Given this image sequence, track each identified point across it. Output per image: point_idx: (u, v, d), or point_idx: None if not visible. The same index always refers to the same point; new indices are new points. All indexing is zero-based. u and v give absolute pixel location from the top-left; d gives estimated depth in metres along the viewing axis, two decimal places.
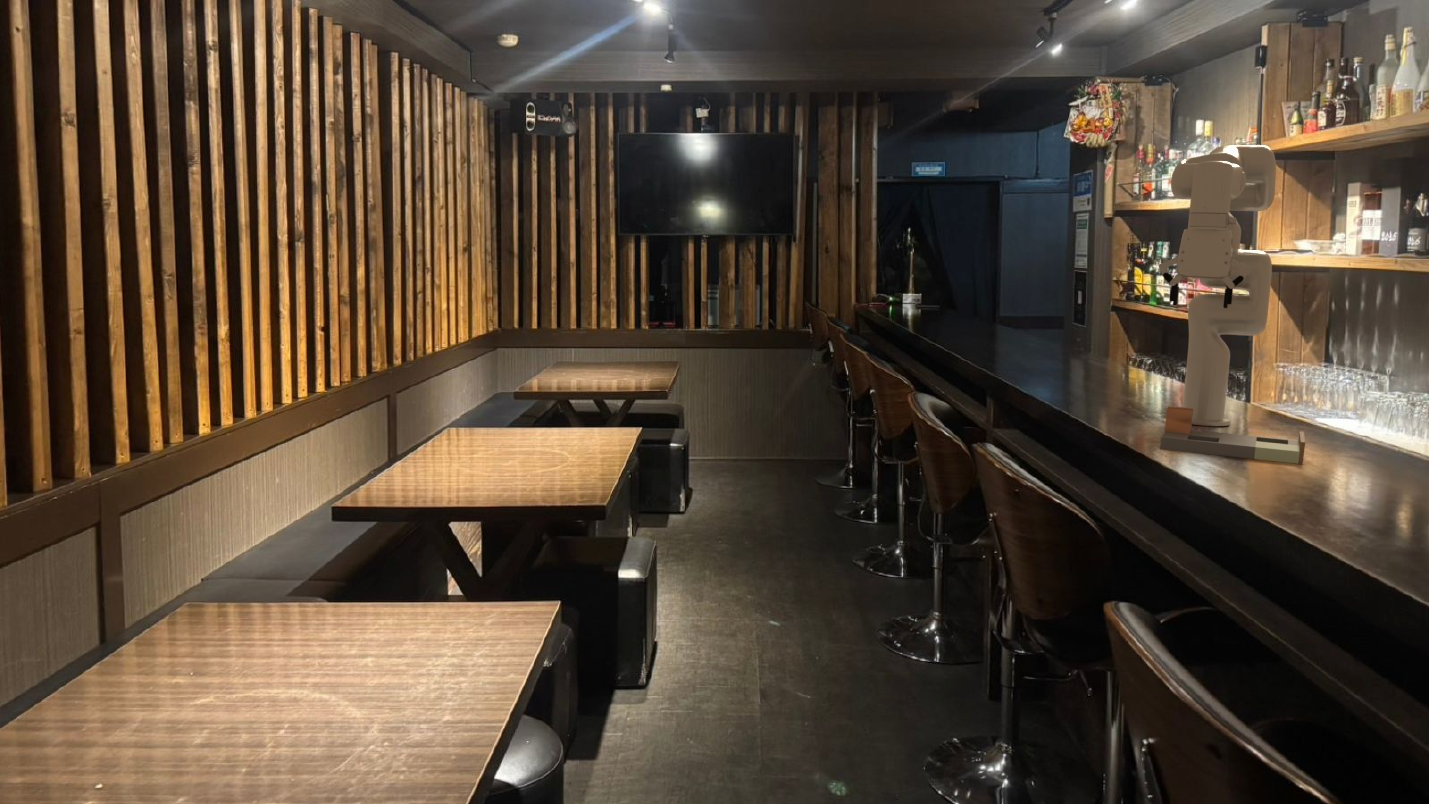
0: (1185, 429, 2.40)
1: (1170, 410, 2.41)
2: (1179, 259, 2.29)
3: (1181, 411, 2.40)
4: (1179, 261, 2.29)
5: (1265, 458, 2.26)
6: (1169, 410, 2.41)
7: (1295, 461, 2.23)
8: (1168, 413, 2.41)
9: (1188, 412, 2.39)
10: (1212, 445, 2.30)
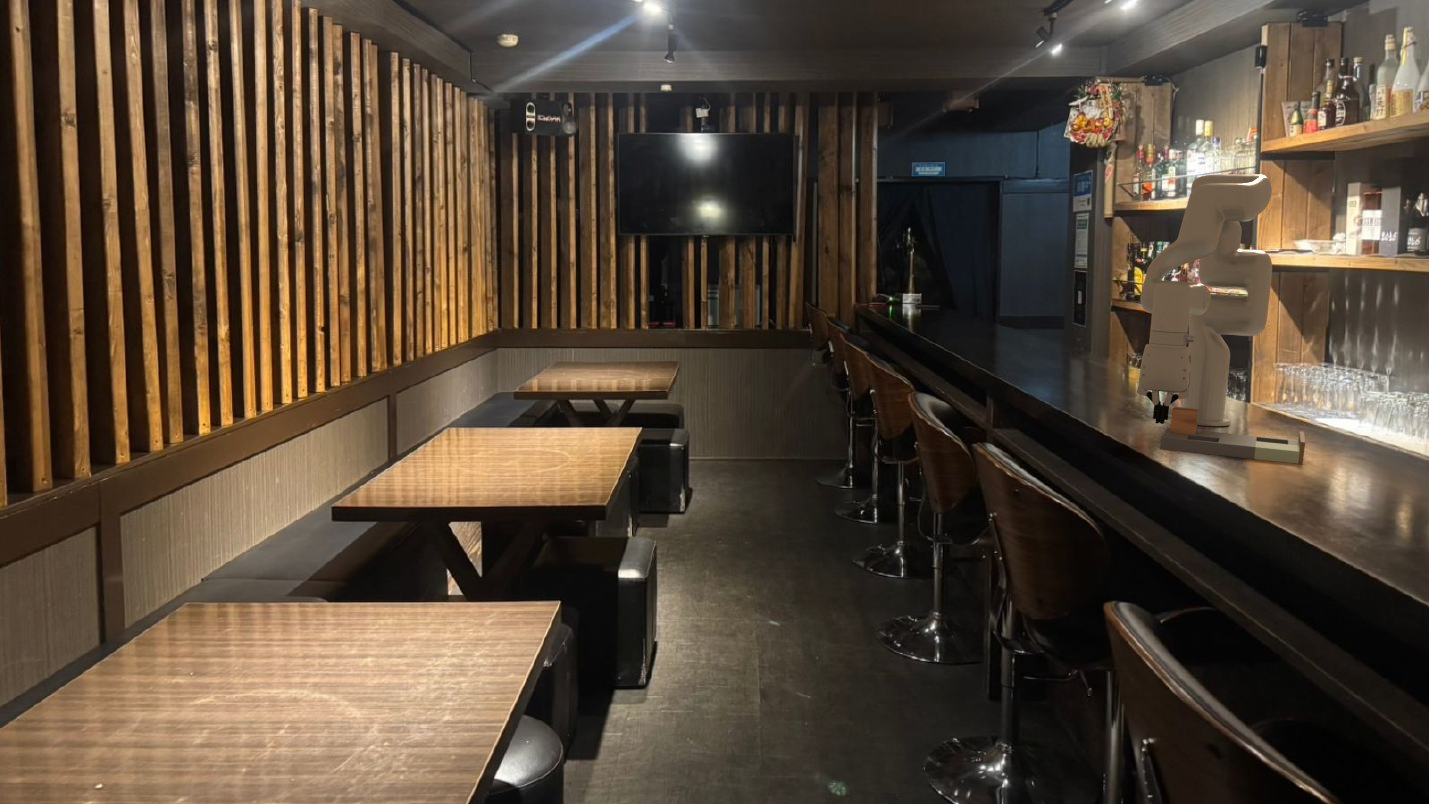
0: (1191, 429, 2.39)
1: (1175, 411, 2.40)
2: (1141, 373, 2.43)
3: (1186, 412, 2.39)
4: (1141, 375, 2.43)
5: (1265, 458, 2.26)
6: (1174, 411, 2.40)
7: (1295, 461, 2.23)
8: (1173, 414, 2.40)
9: (1193, 413, 2.38)
10: (1212, 445, 2.30)
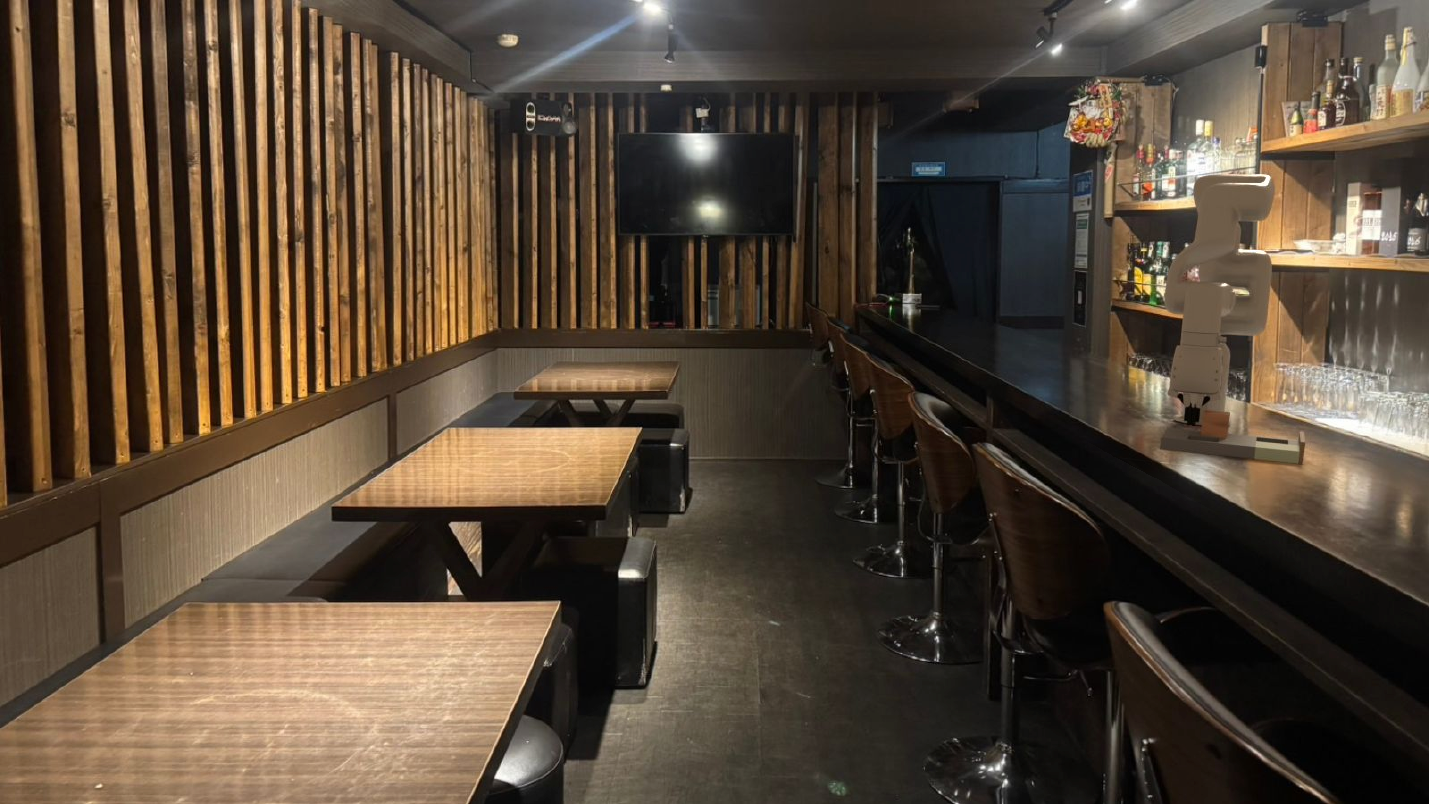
0: (1222, 433, 2.36)
1: (1206, 414, 2.37)
2: (1172, 375, 2.40)
3: (1218, 415, 2.36)
4: (1172, 376, 2.40)
5: (1265, 458, 2.26)
6: (1205, 414, 2.37)
7: (1295, 461, 2.23)
8: (1204, 417, 2.37)
9: (1225, 416, 2.35)
10: (1212, 445, 2.30)
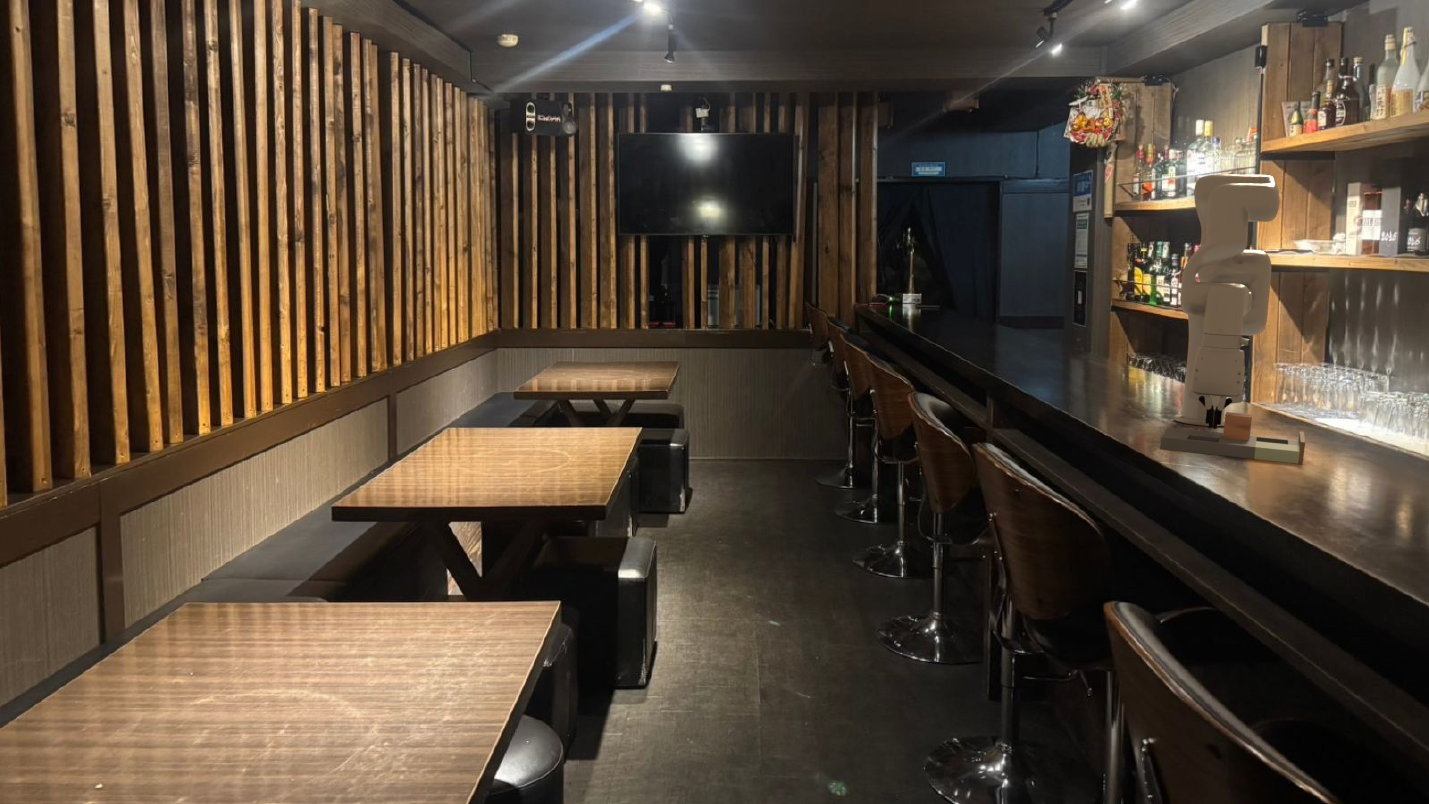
0: (1245, 435, 2.34)
1: (1229, 416, 2.35)
2: (1193, 377, 2.38)
3: (1240, 417, 2.34)
4: (1193, 379, 2.38)
5: (1265, 458, 2.26)
6: (1228, 416, 2.35)
7: (1295, 461, 2.23)
8: (1226, 419, 2.35)
9: (1247, 418, 2.33)
10: (1212, 445, 2.30)
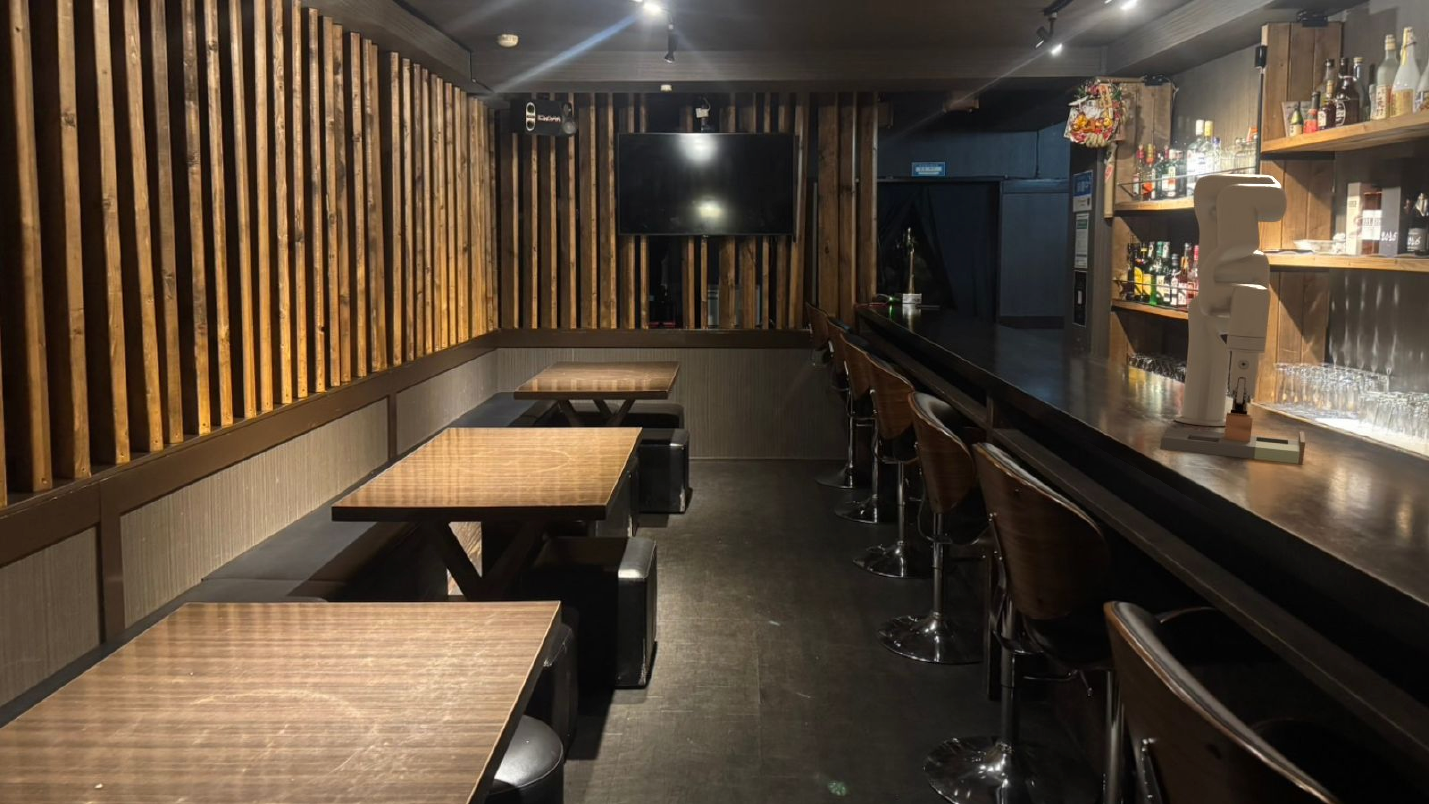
0: (1246, 436, 2.33)
1: (1230, 417, 2.34)
2: None
3: (1241, 418, 2.33)
4: None
5: (1265, 458, 2.26)
6: (1229, 417, 2.34)
7: (1295, 461, 2.23)
8: (1228, 420, 2.34)
9: (1249, 419, 2.32)
10: (1212, 445, 2.30)
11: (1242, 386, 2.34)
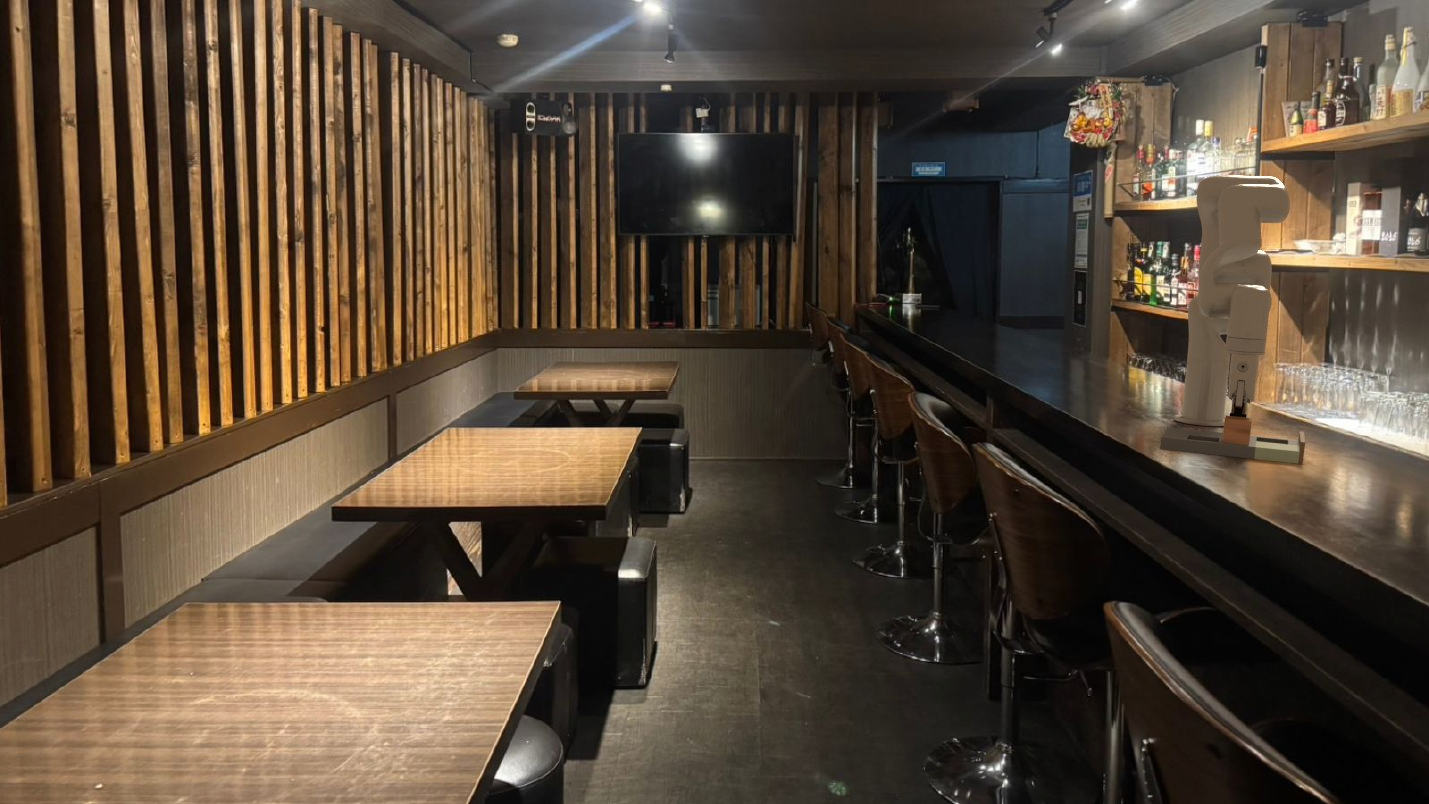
0: (1245, 440, 2.28)
1: (1228, 420, 2.29)
2: None
3: (1240, 421, 2.28)
4: None
5: (1265, 458, 2.26)
6: (1227, 420, 2.29)
7: (1295, 461, 2.23)
8: (1226, 423, 2.29)
9: (1247, 422, 2.28)
10: (1212, 445, 2.30)
11: (1241, 389, 2.30)
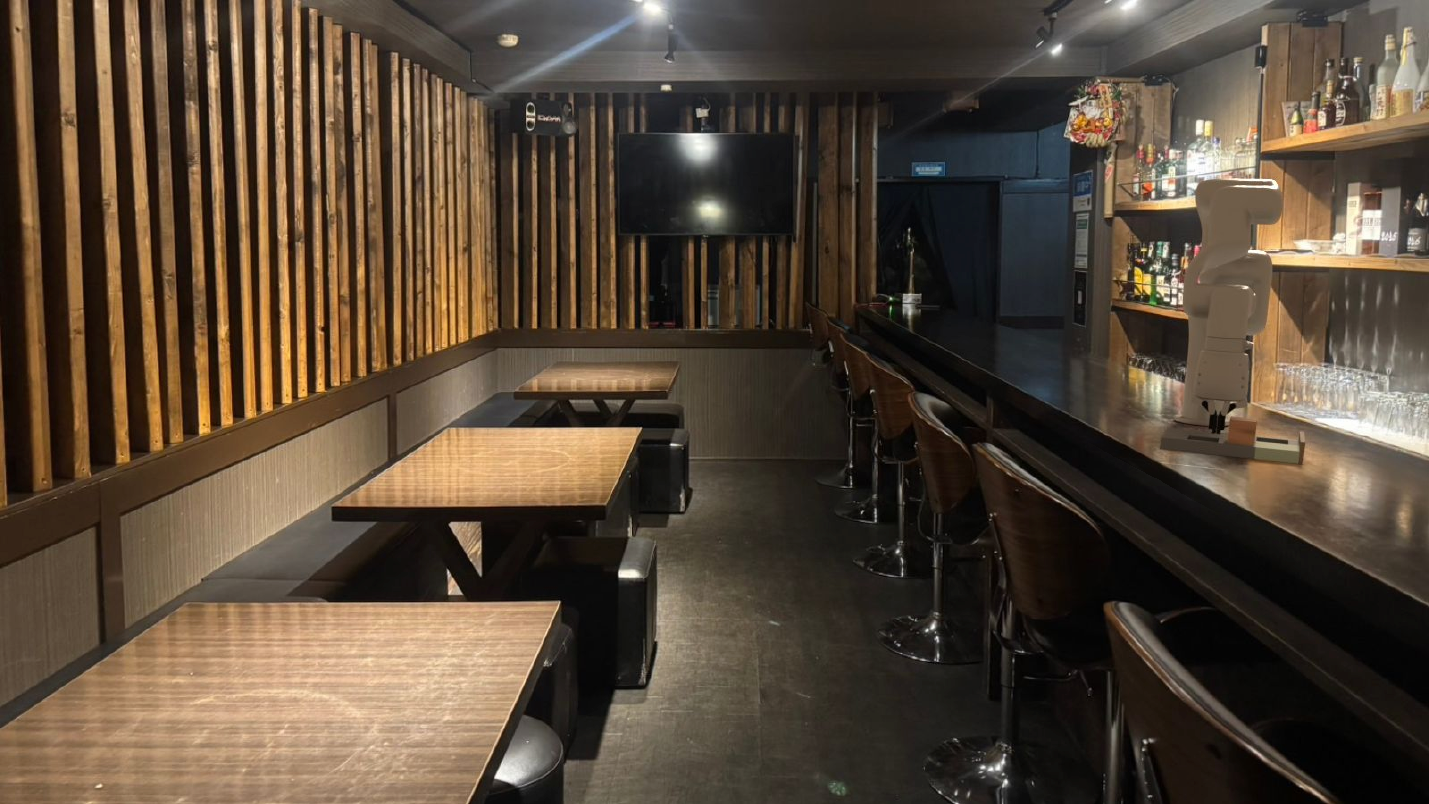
0: (1249, 440, 2.28)
1: (1233, 421, 2.29)
2: (1196, 381, 2.32)
3: (1245, 422, 2.28)
4: (1196, 383, 2.32)
5: (1265, 458, 2.26)
6: (1232, 421, 2.29)
7: (1295, 461, 2.23)
8: (1231, 424, 2.29)
9: (1252, 423, 2.27)
10: (1212, 445, 2.30)
11: None
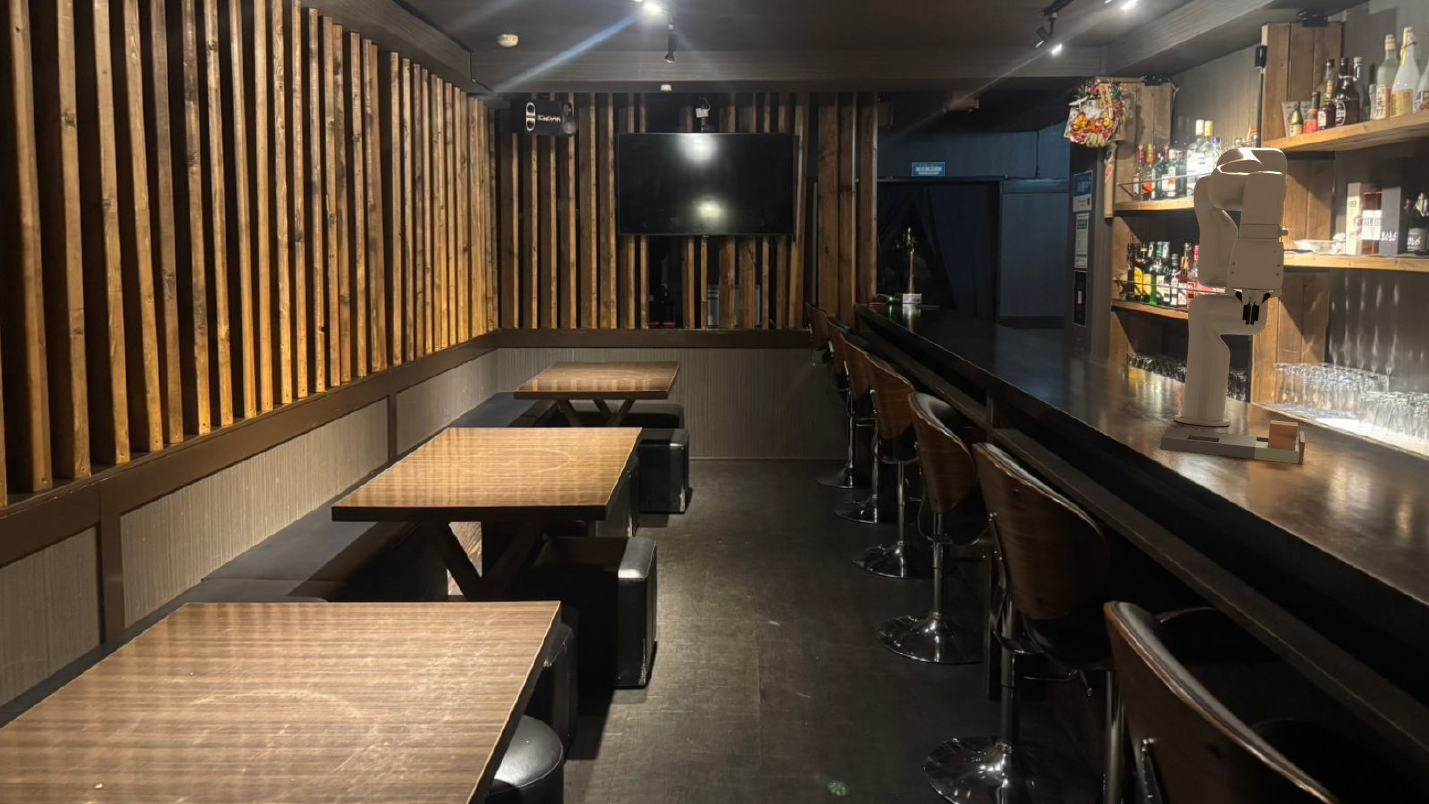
0: (1290, 445, 2.24)
1: (1274, 425, 2.25)
2: (1229, 271, 2.26)
3: (1286, 426, 2.24)
4: (1229, 273, 2.26)
5: (1265, 458, 2.26)
6: (1272, 425, 2.25)
7: (1295, 461, 2.23)
8: (1271, 428, 2.25)
9: (1294, 427, 2.23)
10: (1212, 445, 2.30)
11: None
